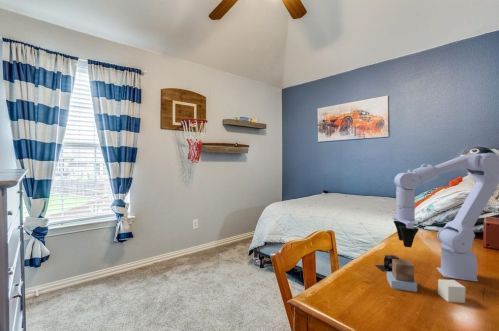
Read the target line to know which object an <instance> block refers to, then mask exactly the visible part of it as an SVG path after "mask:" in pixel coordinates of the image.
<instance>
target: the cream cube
mask: <svg viewBox="0 0 499 331" xmlns="http://www.w3.org/2000/svg"><path fill="white" fill-rule="evenodd" d="M437 294H438V295H439V296H440V297H441V298H443V300H445V301H447V302H448V303H463V304H465V303H466V287H465V286H464V285H463V284H461V283H459V282H458V281H456V280H455V279H443V278H442V279H441V278H439V279H438V280H437Z"/></svg>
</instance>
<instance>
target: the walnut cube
mask: <svg viewBox="0 0 499 331" xmlns="http://www.w3.org/2000/svg"><path fill="white" fill-rule="evenodd" d="M392 274H393V276H394V277H395V279H396V280H401V281H409V282H414V280H415V265H414V264H413V263H412V262H411V261H410V260H409V259H401V258H399V259H392Z"/></svg>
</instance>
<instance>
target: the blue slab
mask: <svg viewBox="0 0 499 331" xmlns="http://www.w3.org/2000/svg"><path fill="white" fill-rule="evenodd" d="M386 280H387V282H388V284H389V286H390V288H391V289H394V290H400V291H408V292H413V293H414V292H415V293H418V283H417V282H416V280H415V279H414V282H409V281H401V280H396V279H395V277H394V276H393V274H392V272H388V271H387V272H386Z"/></svg>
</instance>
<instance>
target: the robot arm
mask: <svg viewBox="0 0 499 331" xmlns="http://www.w3.org/2000/svg"><path fill="white" fill-rule="evenodd" d="M460 169H465V170H466V171H467V172H468V173H469V174H470V175H471V176H472V177H473V179H474V181H475V183H474V185H473V186H472V188H471V190H470V191H469V193H468V194H467V197H466V198H465V200H464V202H463V203H462V205H461V207H460V208H459V210H458V212H457V214H456V216H455V217H454V219H452V220H450V221H449V222H447V223H446V224H445V225H444V226H443V227H442V228H440V229H439V230H438V232H437V235H436V236H437V241H439V242H440V247H441V248H440V250H441V251H440V267H436V269H437V271H438V272H439V273H440V274H441V275H442V277H444V278H448V279H454V280H455V279H456V280H463V281H471V282H478V281H479V279H478V260H477V256H476V254H475V253H474V252H473V251H471V249H472V248H473V245H474V238H475V237H476V234H475V232H474V230H473V228H474V226H475V225H476V223H477V221H478V219H479V217H480V216H481V214H482V213H483V211H484V209H485V208H486V206H487V204H488V202H490V199H491V197H492V196H493V194H494V192H495V191H496V190H497V187H498V186H499V155H498V154H497V153H494V152H487V153H485V152H483V153H468V154H465V155H464V154H463V155H460V156H457V157H455V158H452V159H450V160H447V161H444V162H442V163H439V164H436V165H431V164H426V163H424V164H421V165H420V167H418V168H415V169H408V170H407V172H399V173H398V174H396V175H395V177H394V179H393V180H392V181H393V184H394V186H395V188H396V191H395V192H396V193H395V194H396V198H395V199H396V200H395V206H396V207H395V213H396V214H395V216H392V218H391V219H392V220H393V223H394V225H395V228H396V232H397V237H398V240H399V241H402V243H403V247H404V248H412V247H413V244H414V239H415V236H416V234H417V233H418V232H419V228H418V227H415V222H416V218H415V211H416V210H415V208H416V206H415V205H416V200H415V199H416V197H415V196H416V195H415V194H416V192H415V191H416V189H417V187H418V186H421V185H423V184H426V183H430V182H432V181H435V180H437V179H438V177H439V176H440V175H443V174H446V173H450V172H453V171H456V170H460Z"/></svg>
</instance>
